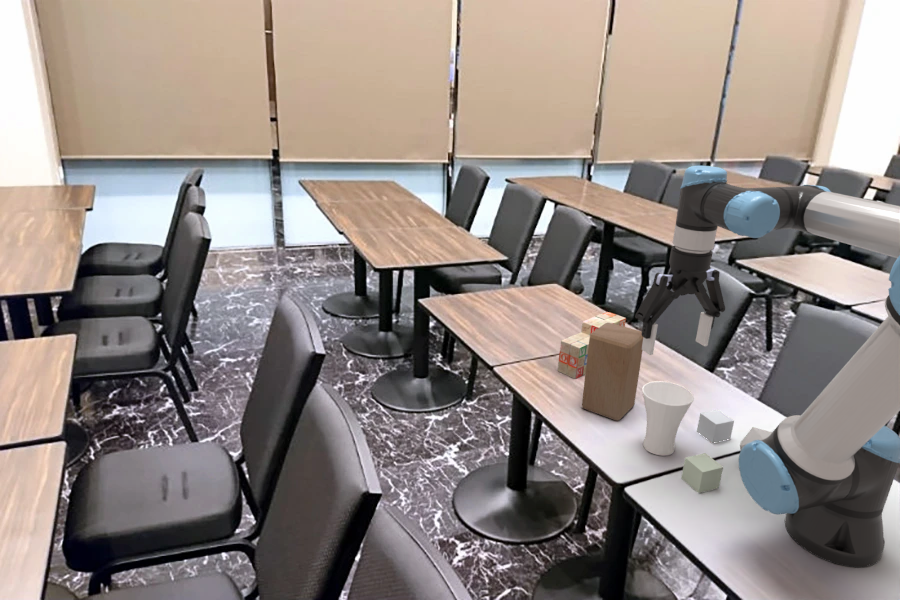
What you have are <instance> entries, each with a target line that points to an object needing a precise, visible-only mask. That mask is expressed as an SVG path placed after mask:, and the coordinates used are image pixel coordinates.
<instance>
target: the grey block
mask: <svg viewBox="0 0 900 600" xmlns="http://www.w3.org/2000/svg"><path fill="white" fill-rule="evenodd" d="M772 432H773V431H769V430H765V429H762V428H759V427H754V426H753V427H751V428H750V429H749V431H748V432H747V433H746V435H745V437H743V438H742V440H741V441H740V444H739V448H740V451H741V450H742V448H743V447H744V446H745V445H746V444H748V443H750V442H752V441H755V440H764V439H766V438H767V437H769V436H770V434H771V433H772Z"/></svg>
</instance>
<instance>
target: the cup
mask: <svg viewBox="0 0 900 600" xmlns="http://www.w3.org/2000/svg"><path fill="white" fill-rule="evenodd" d="M641 393H642V396H643V402H644V408H645V412H646V413H645V414H646V427H645V428H646V430H645V436H644V439H643V441H642V445H643V448H644V449H645V450H646V451H647V452H648V453H651V454H654V455H656V456H671V455H672V454H674V452H675V446H676V445H675V444H676V438H677V434H678V429H679V427H680V425H681V423H682V421H683V419H684V417H685V415H686V413H687V412H688V410H689V409H690V407H691V406H692V403H693V402H694V399H695V396H694V394H693V392H691V390H689V388H686V387H685V386H683V385H680V384H678V383H674V382H671V381H664V380H663V381H662V380H661V381H660V380H655V381H654V380H653V381H649V382H647V383H645V384H643V385H642V388H641Z"/></svg>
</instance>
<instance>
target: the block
mask: <svg viewBox="0 0 900 600" xmlns="http://www.w3.org/2000/svg"><path fill="white" fill-rule="evenodd" d="M642 343H643V336H642V330H637V329H634V328H630V327H626V326H625V327H623V326H620V325H616V324H612V323H605V324H604V325H602V326H601V327H599V328H598V329H597V330H595V331H594V332H592V333H591V335H590V339H589V347H588V356H587V364H586V373H585V375H584V382H583V389H582V390H583V391H582V398H581V399H582V400H581V408H582V409H584V410H586V411H589V412H591V413H595V414H597V415H600V416H603V417H605V418H609V419H611V420H613V421H620V420H622V418H623V417H624V416H625V415H627V413H629V411H630V410H631V409H632V408H633V407H634V406H635V403H636V396H637V395H636V394H637V389H638V383H639V376H640V370H641V369H640V368H641V363H642V356H643V352H644V351H643V350H642Z"/></svg>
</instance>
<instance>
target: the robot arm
mask: <svg viewBox="0 0 900 600" xmlns="http://www.w3.org/2000/svg"><path fill="white" fill-rule="evenodd" d="M727 178H728V171H727V170H726V169H724V168H721V167H720V166H719V167H718V166H713V165H712V166H709V165H692V166H689V167H688V168H686V169H685V170H684V173H683V177H682V181H681V186H680V188H679V189H680V194H679V200H678V204H677V205H678V206H677V212H676V217H675V219H676V220H675V224H674V225H675V226H674V230H673V235H672V236H673V237H672V244H673V246H672V247H671V248H670V255H669V261H668V263H669V266H670V270H669V273H668V274H662V273H661V272H656V273H655V274H654V279H653V282H652V284H651V286H650V288H649V290H648V292H647V293H646V295H645V297H644V298H643V301H642V303H640V306H639V308H638V310H637V311H636V312H635V315H634V317H635V319H637V320H639V321H640V322H642V328H641V331H642V336H643V343H642V350H643V351H642V352H645V353H646V354H647V355H649V356H652V355H654V351H655V344H656V338H657V331H658V327H659V324H658V323H656V322H657V321H658V319H659V318H660V317H661V316H662V314H663V313H664V312H665V311H666V309H668V308H669V306H670V305H671V304H672V303H673V302H674V300H676V299H678V298H679V297H680V296H686V295H695V297H696V299H697V300H698V302H699V304H700V305H701V307H702V309H703V311H702V312H700V315H699V320H698V326H697V332H696V336H695V337H696V338H695V342H696V343H698V344H700V345H702V346H703V347H707V346H708V345H709V341H710V335H711V330H712V329H713V327H714V324H715V323H714V322H715V318H719V317H720V316H721V313H723V312H725V311H726V306H725V305H726V304H725V301H724V297H723V294H722V288H721V284H720V273H721V272H720V271H719V270H718V269H715V268H713V267H711V263H712V259H713V251H712V250H713V249H714V247H715V242H716V236H717V231H718V227H719V228H721V229H724V230H727V231H729V232H732V233H733V234H737V235H738V236H741V237H747V238H752V239H760V238H763V237H764V236H765V235H767V234H770V233H771V232H772V231H776V230H797V231H799V232H803V233H807V234H811V235H815V236H819V237H822V238H824V239H828V240H832V241H835V242H836V241H837V242H840V243H843V244H845V245H846V244H847V245H850V246H853V247H856V248H860V249H863V250H867V251H870V252H874V253H878V254H880V255H885V256H888V257H892V258H894V259H895V258H896V260H895V261H894V262H893V265H892V267H891V270H890V272H889V276H888V281H889V282H890V284H891V285H890V287H888V296H886V299H885V301H884V307H885V312H886V313H887V316H886V318H885V319H884V320H883V321H882V322H881V323H880V324H879V326H878V327H877V328H876V329H875V330H874V332H873V333H872V334H871V335H870V336H869V337H868V338H867V340H866V341H865V342H864V343H863V344H862V345H861V346H860V347H859V348H858V350H857V351H856V352H855V353H854V354H853V356H851V358H850V359H849V360H848V361H847V362H846V363H845V365H844V366H843V367H842V368H841V369H840V370H839V372H838V373H837V374H836V375H835V376H834V377H833V378H832V380H830V382H829V383H828V384H827V385H826V386H825V387H824V389H823V390H822V391H821V392H820V393H819V394H818V396H817V397H816V398H815V399H814V400H813V401H812V402H811V403H810V405H809V406H808V407H807V408H806V409H805V410H804V411H803V413H801V415H799V414H796V415H789V416H787V417H786V418H784V419H782V421H781V422H780V423H779V424H778V425H777V426H776V428H775V429H773V430H772V431H771V432H772V433H771V434H770V436H769V437H767V438H766V439H764V440H755V441H752V442H750V443H748V444H746V445H745V446H744V447H743V448H742V450H741V449H740V452H739V455H738V468H739V472H740V478H741V480H742V483H743V485H744V487H745V489H746V491H747V493H748V494H749V496H750V497H751V498H752V500H753V501H754V502H755V503H756V504H757V505H758V506H759V507H760V509H763V510H764V511H767V512H769V513H771V514H773V515H785V518H784V525H785V529H786V532H788V534H789V535H790V537H791V538H792V539H793V540H794V541H795V542H796V543H797V544H798V545H799V546H801V547H802V548H803V549H805V550H806V551H808V552H810V554H812V555H815V556H816V557H818V558H821V559H822V560H825V561H827V562H831V563H833V564H837V565H840V566H845V567H850V568H851V567H852V568H865V567H866V568H867V567H869V566H873V565H875V564H876V563H878V562H879V561H880V560H881V558H882V555H883V551H884V549H885V546H886V545H885V544H886V542H885V538H884V524H883V522H884V521H883V513H884V509H885V505H886V502H887V500H888V497H889V494H890V491H891V488H892V485H893V482H894V479H895V476H896V474H897V471H898V468H899V465H900V436H899V435H898V434H897V432H895V431H894V430H892V429H891V428H890V427H888V426H886V424H888V423H889V422H890V421H891V420H892V419H893V418H894V417H895V416H896V415H897V414H898V413H899V412H900V205H895V204H891V203H887V202H881V201H876V200H871V199H866V198H861V197H856V196H851V195H847V194H843V193H837V192H832V191H831V190H830V189H829V188H828V187H826V186H822V185H815V184H803V185H794V186H793V185H791V186H790V185H789V186H773V187H771V186H770V187H766V186H764V187H740V186H735V185H732V184H730V183H729V184H728V179H727ZM704 282H706V283H705V284H706V287H705V286H704V284H703V283H704ZM706 288H707V289H706ZM707 291H708V293H707Z"/></svg>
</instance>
